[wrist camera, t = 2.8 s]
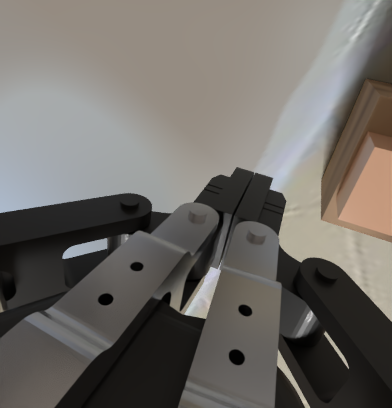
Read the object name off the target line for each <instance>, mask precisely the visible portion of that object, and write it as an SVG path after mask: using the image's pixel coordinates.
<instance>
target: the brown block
mask: <svg viewBox="0 0 392 408" xmlns="http://www.w3.org/2000/svg"><path fill="white" fill-rule="evenodd" d="M368 131H369V132H373V133H377V134H381V135H385V136H389V137H392V84H389V83H385V82H380V81H375V80H371V79H366V80H365V82H364V84H363V86H362V89H361V91H360V93H359V96H358V98H357V100H356V102H355V105H354V107H353V109H352V112H351V114H350V116H349V118H348V121H347V123H346V125H345V128H344V130H343V132H342V134H341V137H340V139H339V141H338V144H337V146H336V148H335V150H334V153H333V155H332V157H331V160H330V162H329V164H328V166H327V169H326V171H325V173H324V176H323V178H322V180H321V220H323V221H326V222H329V223H332V224H335V225H338V226H342V227H345V228H348V229H351V230H354V231H357V232H360V233H364V234H367V235H370V236H373V237H376V238H379V239H382V240H386V241H389V242H392V236H390V235H387V234H384V233H380V232H377V231H374V230H371V229H368V228H365V227H361V226H358V225H355V224H352V223H349V222H345V221H342V220H339V219H338V215H337V202H336V196H337V194H338V192H339V190H340V188H341V186H342V184H343V182H344V180H345V178H346V176H347V174H348V171H349V169H350V167H351V165H352V163H353V161H354V159H355V157H356V155H357V153H358V151H359V149H360V147H361V145H362V143H363V141H364V138H365V136H366V134H367V132H368Z"/></svg>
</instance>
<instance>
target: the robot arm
mask: <svg viewBox="0 0 392 408" xmlns="http://www.w3.org/2000/svg"><path fill="white" fill-rule="evenodd" d="M253 176H254V177H253ZM272 180H273V178H271V177H268V176H265V175H261V174H258V173H255V175H254V172H251V171H248V170H244V169H241V168H238V167H237V168H236V169H235V171H234V172H233V174H232V175H231V177H227V176H224V175H219V176H216V177H214V178H212V179H211V180H210V182H209V183H208V185H207V186H206V187H205V188H204V190H203V191H202V192H201V193H200V195H199V196H198V197H197V199H196V200H195V201H194V202H193V203H186V204H183V205H181V206H179V207H178V208H177V209H176V210H175V211H174V212H173V213H161V212H153V211H152V204H151V202H150V201H149V200H148V199H147V198H145V197H144V196H141V195H138V194H131V193H126V194H118V195H111V196H105V197H99V198H92V199H86V200H80V201H74V202H67V203H61V204H54V205H48V206H42V207H35V208H29V209H23V210H17V211H10V212H5V213H0V408H305V407H304V405H303V403H302V401H301V399H300V397H299V395H298V393H297V391H296V390H295V388H294V387H293V385H292V384H291V382H290V381H289V379H288V378H287V377H286V376H285V374H284V373H283V372H282V371H281V370H280V369H279V367H278V366H277V356H278V349H279V351H280V353H281V355H282V357H283V358H284V360H285V362H286V364H287V366H288V368H289V369H290V371H291V373H292V375H293V377H294V379H295V380H296V382H297V384H298V386H299V388H300V389H301V391H302V393H303V395H304V397H305V399H306V400H307V402H308V404H309V406H310V408H392V322H391V321H390V320H389V319H388V318H387V317H386V315H385V314H384V313H383V312H382V311H381V310H380V309H379V308H378V307H377V306H376V305H375V304H374V303H373V301H372V300H371V299H370V298H369V297H368V296H367V295H366V294H365V293H364V292H363V291H362V290H361V289H360V288H359V286H358V285H357V284H356V283H355V282H354V281H353V280H352V279H351V278H350V277H349V276H348V275H347V274H346V272H344V271H343V270H342V269H341V268H340V267H339V266H337V265H335V264H334V263H332V262H330V261H327V260H324V259H321V258H307V259H305V260H303V261H302V263H301V262H299V261H297V260H295V259H294V258H292V257H291V256H289V255H288V254H287V253H286V252H285V251H284V250H283V249H282V248H281V246H280V245H279V237H278V235H279V230H280V226H281V222H282V217H283V213H284V208H285V204H286V200H285V198H284V196H283V194H282V193H279V192H276V191H273V190H270V186H271V183H272ZM104 238H107V240H108V241H107V244H108V245H107V249H105V250H101V251H97V252H93V253H88V254H84V255H80V256H76V257H73V258H68V259H62V256H63V253H64V252H65V251H66V250H67V249H68V248H69V247H71V246H74V245H78V244H82V243H87V242H91V241H95V240H100V239H104ZM221 260H222V262H221ZM220 263H221V266H220V269H219V270H221V273H220V276H219V279H218V282H217V286H216V289H215V292H214V295H213V298H212V302H211V305H210V308H209V311H208V314H207V318H206V319H203V318H198V317H192V316H187V315H184V313H185V312H186V310H187V309H188V307H189V305H190V304H191V302H192V300H193V299H194V297H195V296H196V294H197V292H198V291H199V289H200V287H201V286H202V284H203V282H204V279H205V275H206V274H207V273H208V271H209V269H210V267H214V268H216V269H218V267H219V265H220ZM325 331H326V332H327V333H328V335H329V336H330V337H331V339H332V340H333V342H334V343H335V344H336V346H337V347H338V349H339V350H340V351H341V353H342V354H343V356H344V357H345V359H346V361H347V363H348V366H349V369H348V368H347V366H346V365H345V364H344V362H343V361H342V359H341V358H340V356H339V355H338V354H337V352H336V351H335V349H334V348H333V346H332V345H331V344H330V342H329V341H328V339H327V338H326V337H325V335H324V333H325Z"/></svg>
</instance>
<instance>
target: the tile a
mask: <svg viewBox="0 0 392 408" xmlns="http://www.w3.org/2000/svg"><path fill="white" fill-rule="evenodd" d="M336 202H337V215H338V219H339V220H342V221H345V222H349V223H352V224H355V225H358V226H361V227H365V228H368V229H371V230H374V231H377V232H380V233H384V234H387V235H390V236H392V137H389V136H385V135H381V134H377V133H373V132H369V131H368V132H367V134H366V136H365V138H364V141H363V143H362V145H361V147H360V149H359V151H358V153H357V155H356V157H355V159H354V161H353V163H352V165H351V167H350V169H349V171H348V174H347V176H346V178H345V180H344V182H343V184H342V186H341V188H340V190H339V192H338V194H337V196H336Z"/></svg>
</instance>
